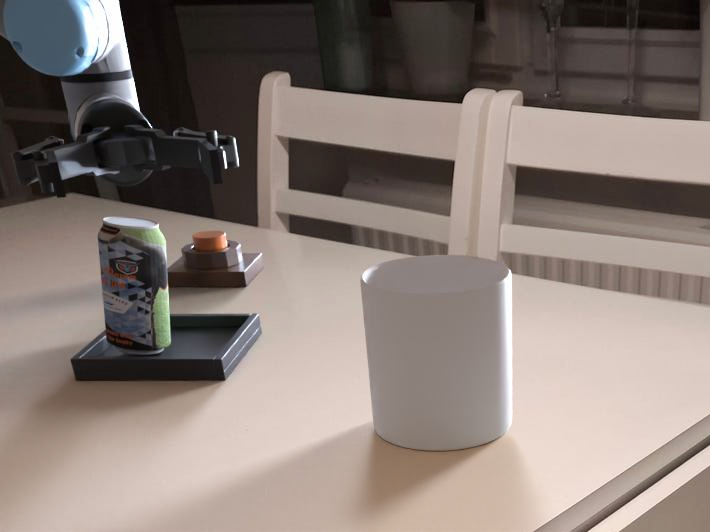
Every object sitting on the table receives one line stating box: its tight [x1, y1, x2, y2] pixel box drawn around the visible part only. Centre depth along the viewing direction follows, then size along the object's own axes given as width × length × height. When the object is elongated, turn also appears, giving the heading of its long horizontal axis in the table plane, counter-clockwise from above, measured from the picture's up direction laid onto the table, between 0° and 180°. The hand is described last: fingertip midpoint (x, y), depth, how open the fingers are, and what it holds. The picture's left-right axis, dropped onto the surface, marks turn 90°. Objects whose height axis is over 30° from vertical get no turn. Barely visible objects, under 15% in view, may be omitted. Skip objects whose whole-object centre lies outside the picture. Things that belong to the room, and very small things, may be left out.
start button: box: [191, 230, 228, 251], centre depth 122 cm, size 4×4×2 cm
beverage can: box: [97, 216, 171, 355], centre depth 96 cm, size 6×7×12 cm
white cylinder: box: [359, 254, 513, 452], centre depth 81 cm, size 12×12×12 cm
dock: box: [70, 313, 263, 381], centre depth 100 cm, size 15×15×2 cm
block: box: [167, 239, 265, 288], centre depth 124 cm, size 10×9×4 cm
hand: (138, 173), depth 88 cm, fingers open, 13 cm apart
